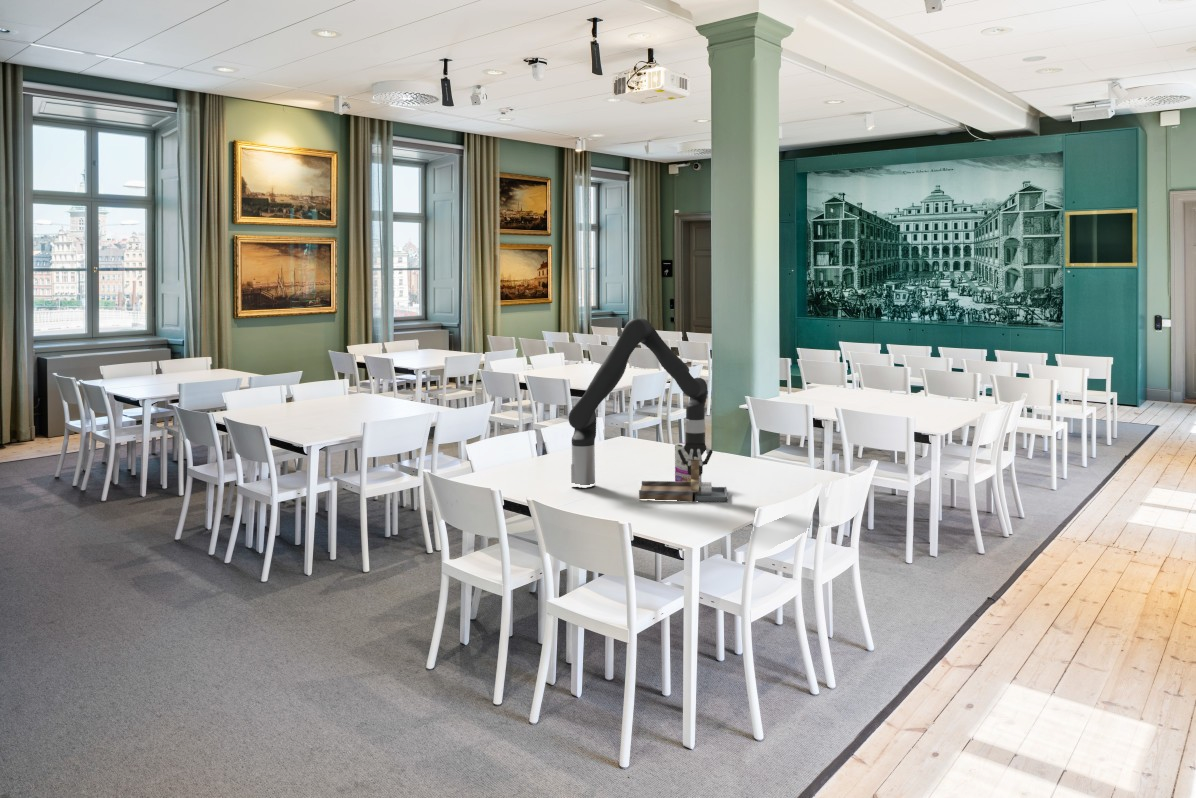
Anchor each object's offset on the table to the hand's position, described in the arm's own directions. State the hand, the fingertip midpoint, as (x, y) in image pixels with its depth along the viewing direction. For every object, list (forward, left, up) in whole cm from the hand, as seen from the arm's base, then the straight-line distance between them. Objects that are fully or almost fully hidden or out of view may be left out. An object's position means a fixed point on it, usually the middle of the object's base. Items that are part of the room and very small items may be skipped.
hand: (695, 474), depth 344 cm
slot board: (-11, 0, -9) cm, 14 cm away
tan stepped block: (0, 0, -5) cm, 5 cm away
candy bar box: (-3, +20, -9) cm, 22 cm away
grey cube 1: (+2, +3, -6) cm, 7 cm away
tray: (+6, 0, -9) cm, 10 cm away
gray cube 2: (+2, -2, -6) cm, 7 cm away
